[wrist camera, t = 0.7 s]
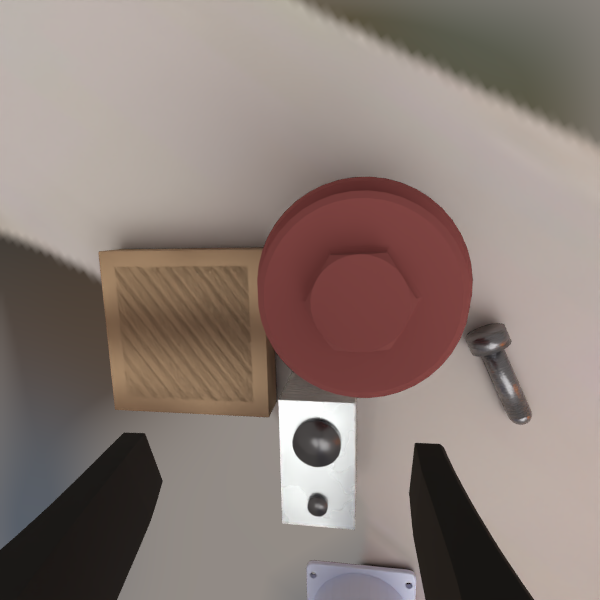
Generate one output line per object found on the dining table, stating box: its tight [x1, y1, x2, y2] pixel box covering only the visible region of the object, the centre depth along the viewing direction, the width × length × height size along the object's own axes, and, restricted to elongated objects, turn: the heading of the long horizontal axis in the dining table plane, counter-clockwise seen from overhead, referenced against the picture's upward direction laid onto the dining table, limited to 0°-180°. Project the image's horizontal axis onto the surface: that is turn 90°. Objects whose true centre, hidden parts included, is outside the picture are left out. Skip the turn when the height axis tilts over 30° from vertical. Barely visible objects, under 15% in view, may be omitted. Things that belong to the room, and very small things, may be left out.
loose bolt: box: [465, 323, 532, 425], centre depth 26 cm, size 7×2×2 cm, turn 26°
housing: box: [278, 371, 357, 530], centre depth 27 cm, size 8×4×6 cm, turn 1°
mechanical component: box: [257, 177, 473, 398], centre depth 21 cm, size 12×10×10 cm
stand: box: [99, 247, 277, 417], centre depth 29 cm, size 11×11×2 cm
